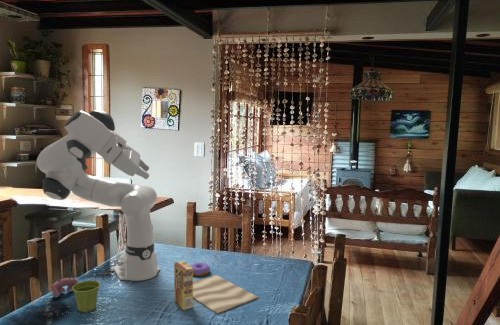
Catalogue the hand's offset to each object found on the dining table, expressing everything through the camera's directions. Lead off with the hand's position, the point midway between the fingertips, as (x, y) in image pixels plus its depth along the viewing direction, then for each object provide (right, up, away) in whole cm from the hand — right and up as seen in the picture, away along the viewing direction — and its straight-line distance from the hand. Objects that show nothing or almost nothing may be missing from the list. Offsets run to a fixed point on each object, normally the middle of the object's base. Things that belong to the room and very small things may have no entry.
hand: (148, 173), depth 131 cm
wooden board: (+21, -49, +24) cm, 58 cm away
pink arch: (-38, -48, +20) cm, 64 cm away
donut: (+12, -47, +44) cm, 66 cm away
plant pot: (-25, -50, +8) cm, 56 cm away
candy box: (+10, -50, +13) cm, 53 cm away
